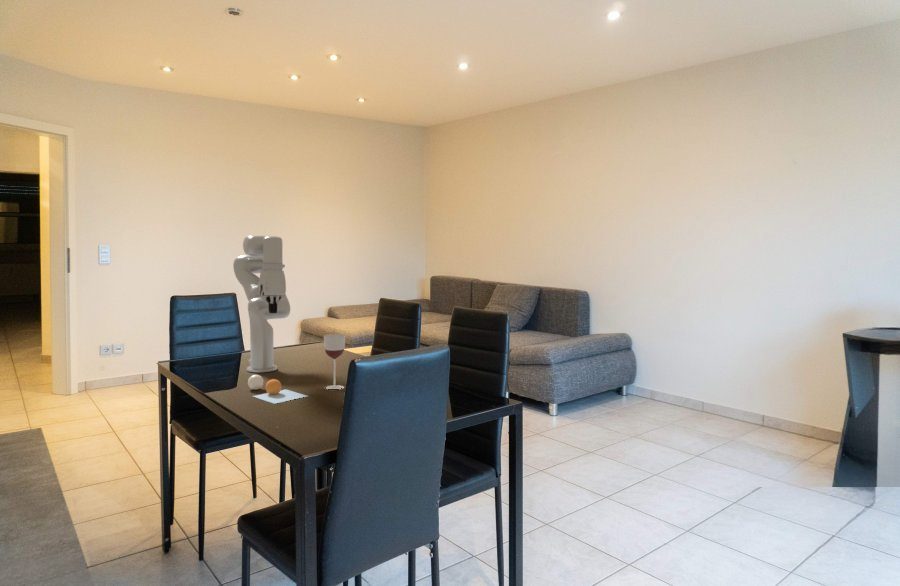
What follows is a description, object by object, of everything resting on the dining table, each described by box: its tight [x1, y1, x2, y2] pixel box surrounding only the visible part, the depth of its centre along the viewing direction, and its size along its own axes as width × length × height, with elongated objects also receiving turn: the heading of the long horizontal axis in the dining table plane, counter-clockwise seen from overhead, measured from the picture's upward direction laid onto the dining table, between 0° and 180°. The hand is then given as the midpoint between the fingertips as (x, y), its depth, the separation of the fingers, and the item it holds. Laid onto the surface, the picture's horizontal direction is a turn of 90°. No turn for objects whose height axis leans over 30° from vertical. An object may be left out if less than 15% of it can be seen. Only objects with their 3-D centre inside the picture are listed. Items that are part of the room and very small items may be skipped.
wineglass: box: [323, 333, 346, 390], centre depth 222 cm, size 8×9×20 cm
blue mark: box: [252, 389, 309, 405], centre depth 208 cm, size 14×14×1 cm
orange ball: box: [265, 378, 282, 395], centre depth 211 cm, size 6×6×6 cm
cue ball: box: [247, 374, 264, 391], centre depth 217 cm, size 6×6×6 cm
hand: (272, 312), depth 233 cm, fingers closed
